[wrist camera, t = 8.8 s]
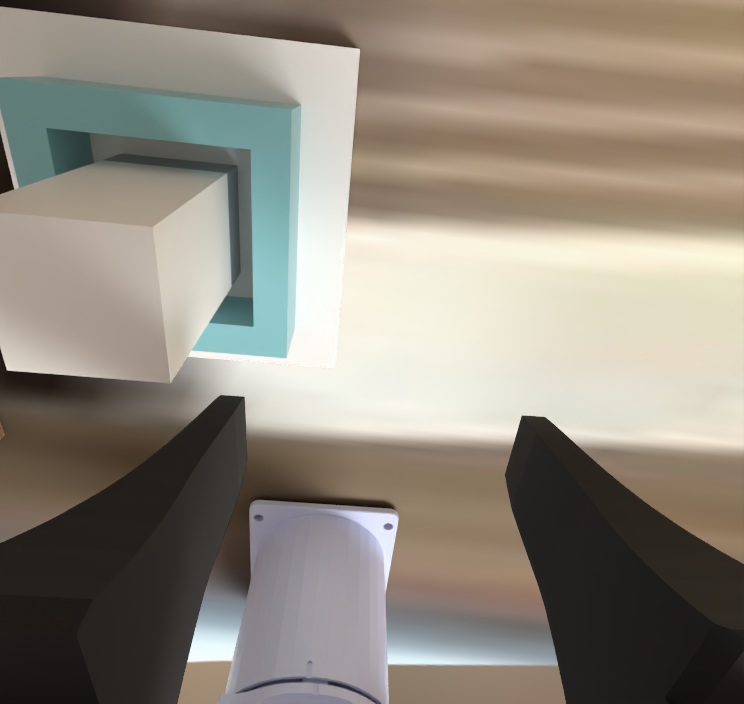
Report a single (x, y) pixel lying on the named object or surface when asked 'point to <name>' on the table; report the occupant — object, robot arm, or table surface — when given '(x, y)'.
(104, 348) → the plug
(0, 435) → the wooden pieces
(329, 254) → the port
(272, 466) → the table surface
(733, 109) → the table surface
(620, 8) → the table surface
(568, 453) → the robot arm
